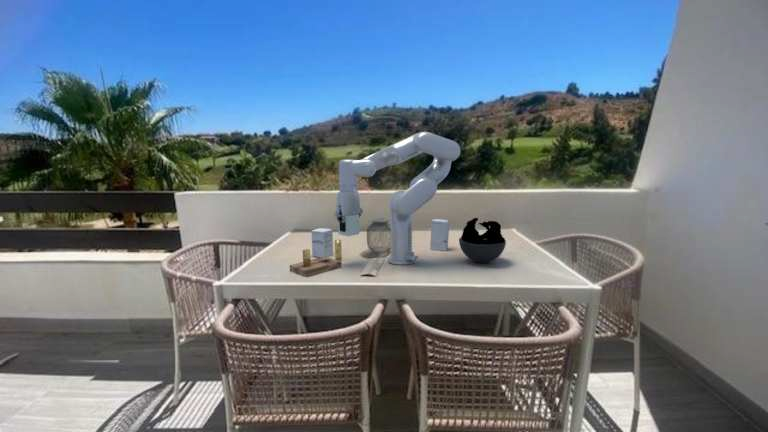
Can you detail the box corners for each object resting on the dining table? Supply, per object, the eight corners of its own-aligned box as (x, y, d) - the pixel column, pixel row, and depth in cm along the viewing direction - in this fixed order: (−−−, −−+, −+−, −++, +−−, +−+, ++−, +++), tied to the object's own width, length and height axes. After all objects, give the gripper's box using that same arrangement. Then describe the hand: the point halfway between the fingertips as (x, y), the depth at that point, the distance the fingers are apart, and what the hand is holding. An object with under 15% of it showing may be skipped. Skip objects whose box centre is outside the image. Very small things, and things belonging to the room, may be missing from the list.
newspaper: (370, 261, 177) (370, 257, 176) (386, 261, 176) (386, 258, 175) (360, 278, 154) (360, 273, 153) (377, 278, 153) (377, 274, 152)
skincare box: (429, 249, 193) (430, 220, 191) (432, 247, 199) (433, 218, 196) (446, 251, 190) (447, 221, 188) (449, 248, 196) (449, 219, 194)
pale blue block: (359, 234, 168) (359, 214, 166) (348, 236, 163) (348, 216, 162) (349, 231, 172) (349, 212, 171) (338, 234, 168) (338, 214, 166)
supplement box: (311, 256, 183) (310, 230, 181) (321, 252, 189) (320, 227, 187) (324, 258, 180) (323, 231, 177) (333, 254, 186) (332, 228, 184)
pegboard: (341, 267, 166) (341, 246, 164) (306, 277, 153) (305, 254, 152) (324, 261, 174) (323, 242, 173) (289, 270, 161) (288, 249, 160)
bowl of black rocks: (507, 269, 160) (509, 225, 157) (458, 267, 164) (459, 223, 161) (502, 256, 180) (504, 216, 176) (458, 254, 184) (459, 215, 180)
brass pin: (343, 259, 177) (342, 240, 176) (338, 260, 175) (337, 241, 174) (338, 258, 179) (338, 239, 178) (333, 259, 177) (333, 240, 176)
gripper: (357, 187, 173) (357, 226, 176) (326, 189, 161) (327, 231, 164) (369, 188, 168) (369, 228, 171) (338, 190, 156) (339, 234, 159)
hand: (348, 229), depth 167 cm, fingers closed on pale blue block, 6 cm apart
